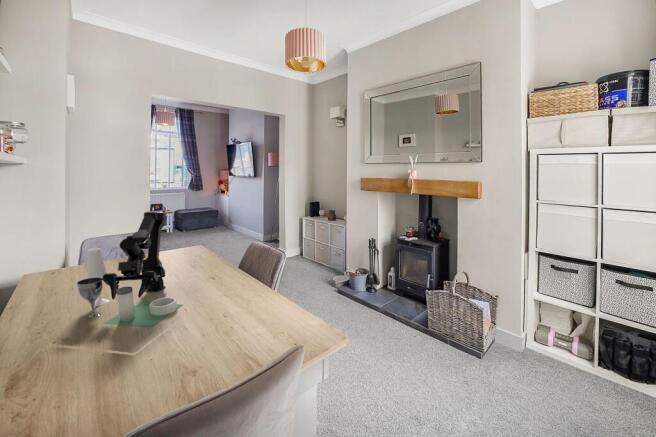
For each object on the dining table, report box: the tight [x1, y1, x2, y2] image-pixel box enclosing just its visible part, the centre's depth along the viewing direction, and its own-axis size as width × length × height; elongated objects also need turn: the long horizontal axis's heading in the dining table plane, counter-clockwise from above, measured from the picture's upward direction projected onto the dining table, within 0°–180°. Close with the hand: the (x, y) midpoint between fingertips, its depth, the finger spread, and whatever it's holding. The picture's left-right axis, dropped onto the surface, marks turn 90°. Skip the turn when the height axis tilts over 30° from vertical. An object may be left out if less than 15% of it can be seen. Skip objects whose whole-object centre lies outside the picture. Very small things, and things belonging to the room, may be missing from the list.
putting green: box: [103, 296, 184, 329], centre depth 129 cm, size 20×20×4 cm
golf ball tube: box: [116, 286, 135, 321], centre depth 124 cm, size 5×5×12 cm
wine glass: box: [76, 277, 104, 319], centre depth 126 cm, size 8×8×15 cm
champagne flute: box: [86, 247, 110, 307], centre depth 139 cm, size 7×7×24 cm
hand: (126, 298), depth 124 cm, fingers open, 9 cm apart
